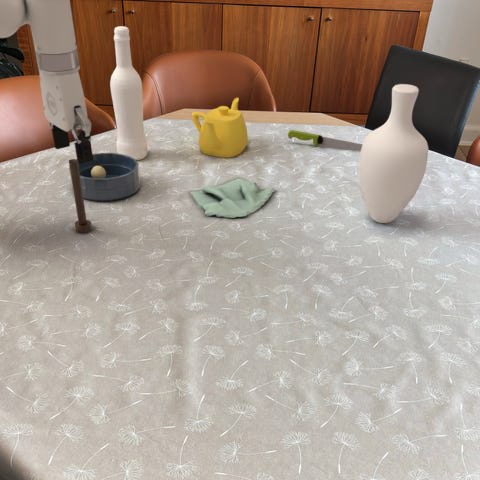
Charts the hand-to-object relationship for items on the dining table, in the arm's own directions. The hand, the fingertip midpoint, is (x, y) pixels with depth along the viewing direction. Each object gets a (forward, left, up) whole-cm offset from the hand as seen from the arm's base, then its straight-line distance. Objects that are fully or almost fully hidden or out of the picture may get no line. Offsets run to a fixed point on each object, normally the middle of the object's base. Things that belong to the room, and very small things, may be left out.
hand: (73, 154), depth 132 cm
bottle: (+31, +30, -16) cm, 46 cm away
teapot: (+53, +21, -16) cm, 59 cm away
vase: (+57, -36, -16) cm, 69 cm away
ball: (+15, +20, -14) cm, 28 cm away
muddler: (0, 0, -16) cm, 16 cm away
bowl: (+15, +16, -16) cm, 27 cm away
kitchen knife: (+78, +4, -16) cm, 80 cm away
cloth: (+37, -7, -16) cm, 41 cm away
